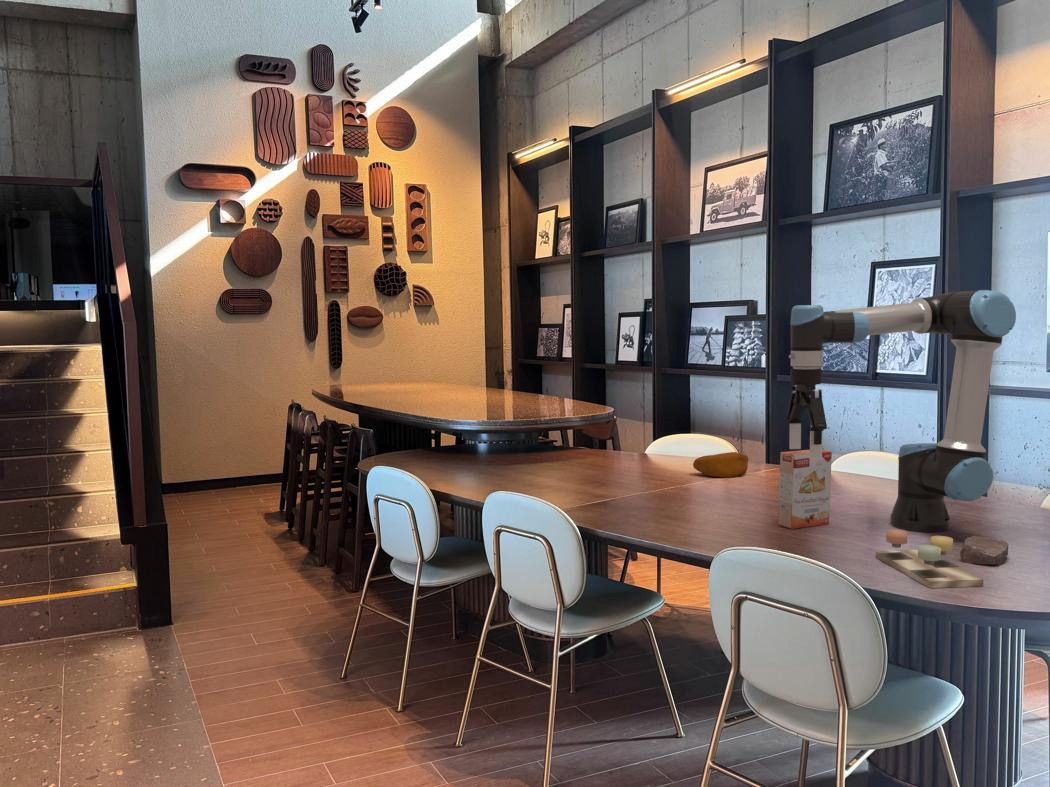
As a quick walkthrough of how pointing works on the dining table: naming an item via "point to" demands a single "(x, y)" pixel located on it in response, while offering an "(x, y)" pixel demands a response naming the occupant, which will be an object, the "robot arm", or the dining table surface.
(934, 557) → the sage button
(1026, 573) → the dining table surface
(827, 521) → the cracker box
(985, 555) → the stone
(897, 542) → the terracotta button
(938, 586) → the board
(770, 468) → the dining table surface
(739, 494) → the dining table surface
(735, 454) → the bread
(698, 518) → the dining table surface
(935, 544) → the ochre button
